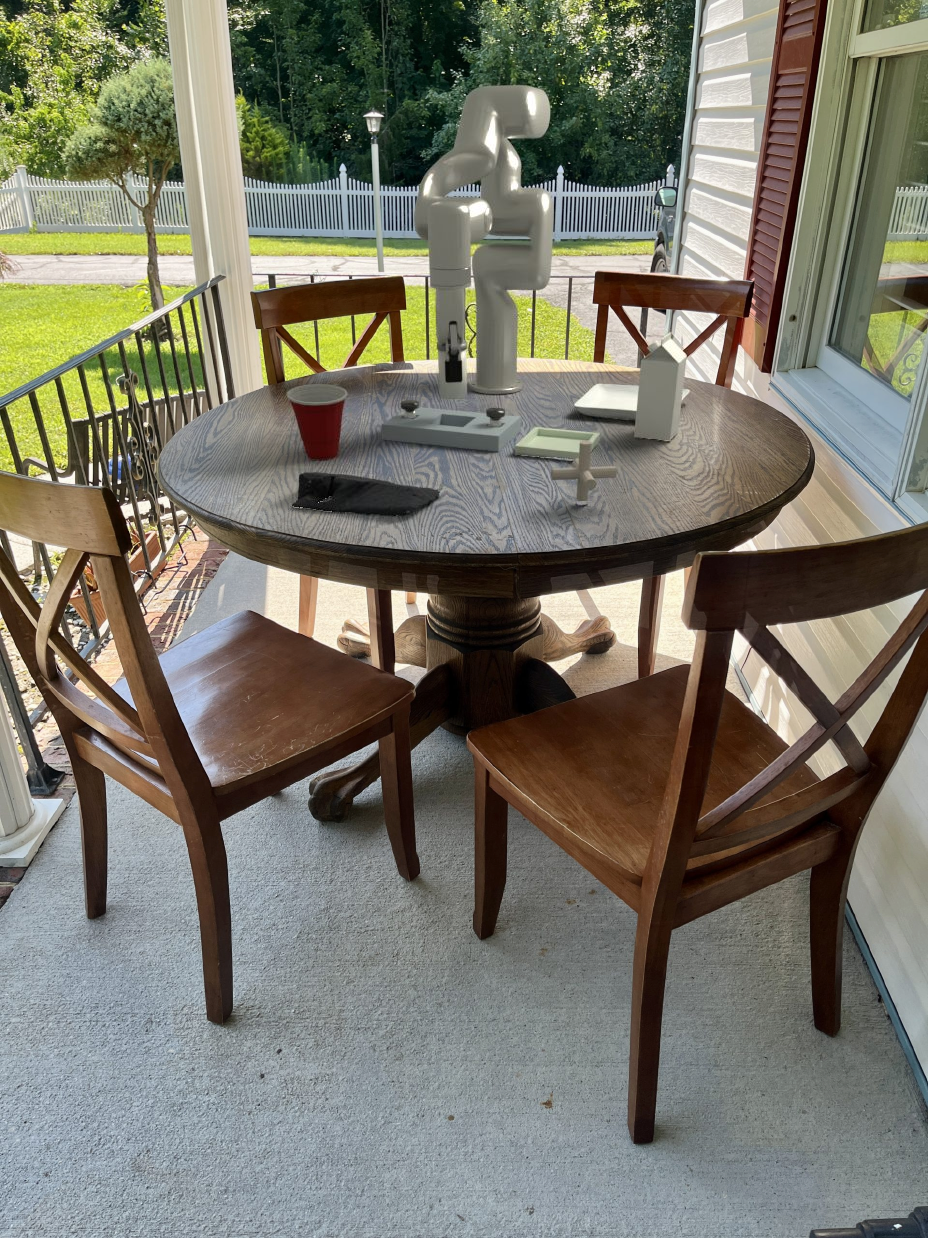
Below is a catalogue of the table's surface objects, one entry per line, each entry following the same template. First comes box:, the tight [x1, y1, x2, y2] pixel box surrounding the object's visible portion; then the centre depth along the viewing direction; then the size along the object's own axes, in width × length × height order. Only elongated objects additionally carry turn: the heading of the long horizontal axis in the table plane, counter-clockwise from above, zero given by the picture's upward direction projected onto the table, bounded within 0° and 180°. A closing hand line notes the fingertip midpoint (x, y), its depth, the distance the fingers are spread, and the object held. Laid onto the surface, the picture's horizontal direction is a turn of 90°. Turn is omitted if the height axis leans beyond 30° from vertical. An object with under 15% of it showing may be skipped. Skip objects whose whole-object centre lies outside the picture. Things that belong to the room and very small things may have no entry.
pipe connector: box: [550, 441, 618, 501], centre depth 132 cm, size 10×10×10 cm
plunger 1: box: [400, 399, 420, 419], centre depth 168 cm, size 4×4×6 cm
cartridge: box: [436, 339, 468, 400], centre depth 162 cm, size 6×6×10 cm
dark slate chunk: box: [291, 471, 441, 517], centre depth 135 cm, size 15×22×5 cm
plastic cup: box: [286, 383, 348, 461], centre depth 154 cm, size 11×11×12 cm
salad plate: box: [573, 383, 690, 421], centre depth 182 cm, size 21×21×3 cm
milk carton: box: [633, 331, 688, 441], centre depth 161 cm, size 7×7×19 cm
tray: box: [514, 426, 601, 459], centre depth 159 cm, size 13×13×2 cm
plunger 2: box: [485, 407, 506, 427], centre depth 163 cm, size 4×4×6 cm
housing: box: [381, 406, 522, 452], centre depth 166 cm, size 14×24×3 cm, turn 69°
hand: (452, 376), depth 163 cm, fingers closed on cartridge, 5 cm apart
